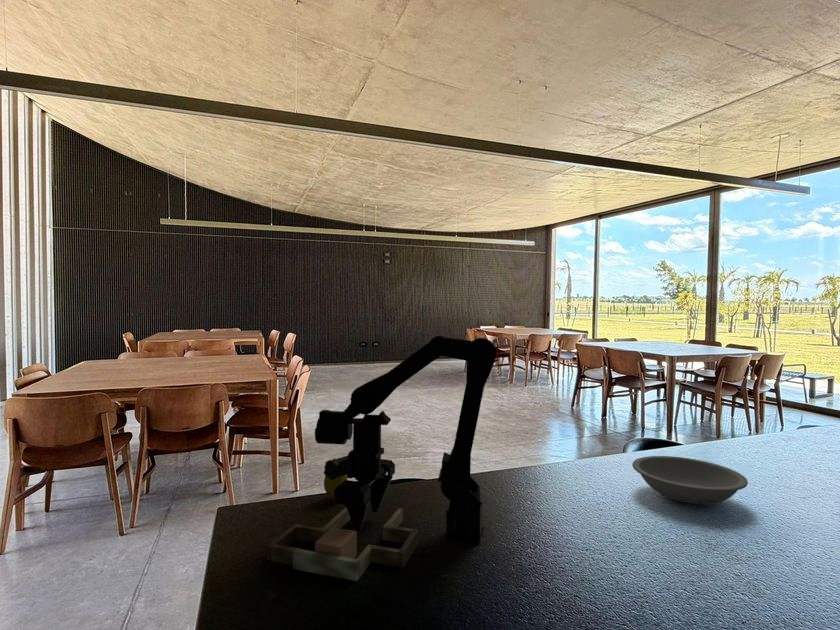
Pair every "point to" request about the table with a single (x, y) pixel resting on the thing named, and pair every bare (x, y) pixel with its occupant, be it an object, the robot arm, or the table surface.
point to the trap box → (339, 564)
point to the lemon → (333, 484)
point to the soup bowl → (689, 479)
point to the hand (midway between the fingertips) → (366, 521)
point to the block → (338, 543)
